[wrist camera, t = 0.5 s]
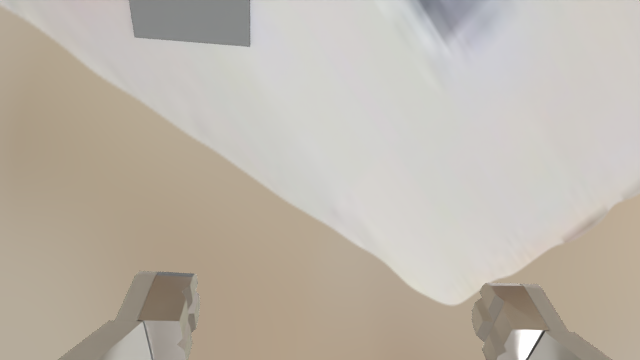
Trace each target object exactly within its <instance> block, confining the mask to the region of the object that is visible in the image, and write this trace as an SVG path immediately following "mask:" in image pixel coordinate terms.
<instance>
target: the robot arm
mask: <svg viewBox="0 0 640 360" xmlns="http://www.w3.org/2000/svg"><path fill="white" fill-rule="evenodd" d="M197 284H198V282H197V275H196V274H189V273H172V272H149V271H139V272H138V273H137V274H136V275H135V277H134V279H133V281H132V284H131V286H130V288H129V290H128V292H127V295H126V297H125V299H124V301H123V304H122V306H121V308H120V310H119V312H118V315H117V317H116V319H115V321H108V322H107V323H105V324H104V325H103V326H101V327H100V328H99V329H97V330H96V331H95V332H93V333H92V334H91V335H89V336H88V337H87V338H85V339H84V340H83V341H82V342H80V343H79V344H78V345H76V346H75V347H74V348H72V349H71V350H70V351H68V352H67V353H66V354H65V355H63V356H62V357H61V358H59V359H58V360H188V358H189V354H190V350H191V346H192V336H191V333H192V332H193V331H194V330H195V329H196V326H197V322H198V317H199V309H200V300H199V294H198V293H197V292H196V288H197ZM480 294H481V296H482V298H481V299H480V300H478V301H477V302H475V304H474V307H473V310H472V323H473V328H474V330H475V333H476V335H477V336H478V337H479V338H480V339H481V340H482V341H483V342H484V345H483V348H482V351H483V353H484V355H485V358H486V360H612V359H611V358H609V357H608V356H606V355H605V354H603V353H602V352H601V351H600V350H598V349H597V348H595V347H594V346H593V345H591V344H590V343H589V342H587V341H586V340H584V339H583V338H582V337H580V336H579V335H578V334H576V333H575V332H569V331H568V329H567V328H566V326H565V325H564V323H563V321H562V320H561V318H560V316H559V315H558V313H557V312H556V310H555V308H554V307H553V305H552V304H551V302H550V300H549V299H548V297H547V296H546V294H545V292H544V291H543V289H542V288H541V287H540V286H539V285H537V284H510V283H485V284H484V285H483V286H482V288H481V290H480Z"/></svg>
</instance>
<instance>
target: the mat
mask: <svg viewBox="0 0 640 360" xmlns="http://www.w3.org/2000/svg"><path fill="white" fill-rule="evenodd" d="M129 3H130V10H131V17H132V23H133V30H134V36H135V37H136V38H148V39H161V40H173V41H185V42H198V43H210V44H222V45H235V46H247V47H250V0H129Z"/></svg>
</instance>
